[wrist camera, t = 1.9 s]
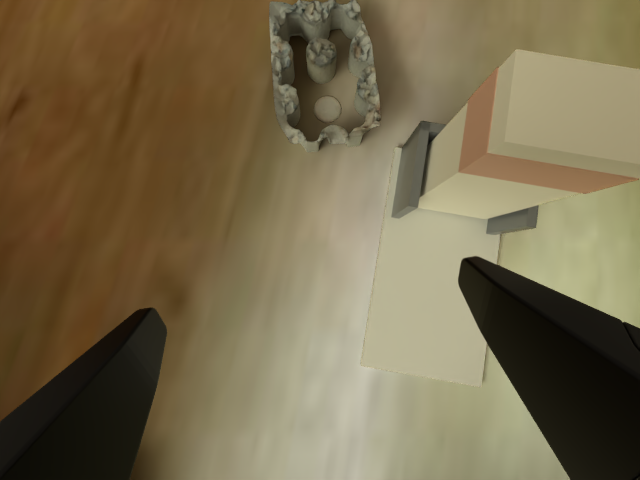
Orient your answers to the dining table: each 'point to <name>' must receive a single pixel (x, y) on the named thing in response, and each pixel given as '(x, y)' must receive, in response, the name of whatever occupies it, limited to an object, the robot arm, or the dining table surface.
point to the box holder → (428, 277)
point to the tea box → (536, 137)
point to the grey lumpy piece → (322, 67)
